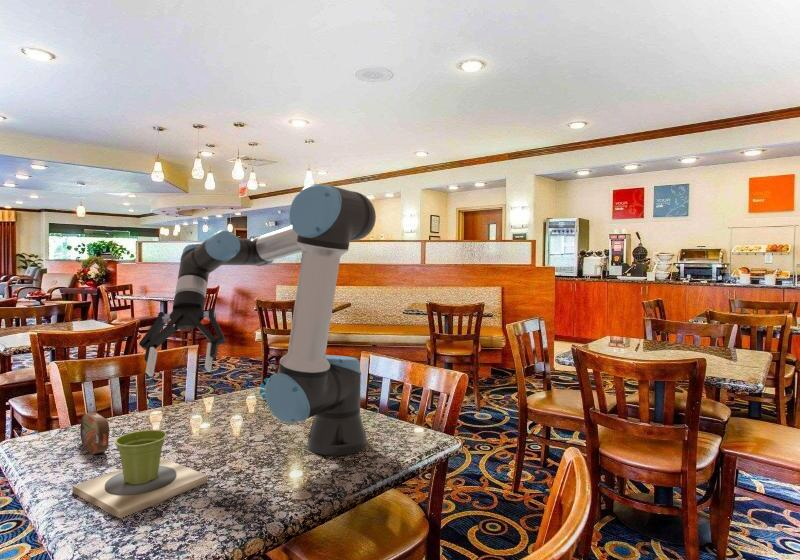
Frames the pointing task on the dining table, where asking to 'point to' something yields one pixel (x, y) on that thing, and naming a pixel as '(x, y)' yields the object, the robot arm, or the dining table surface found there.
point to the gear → (263, 387)
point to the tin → (94, 433)
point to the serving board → (138, 489)
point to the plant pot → (140, 455)
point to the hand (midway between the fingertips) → (178, 372)
